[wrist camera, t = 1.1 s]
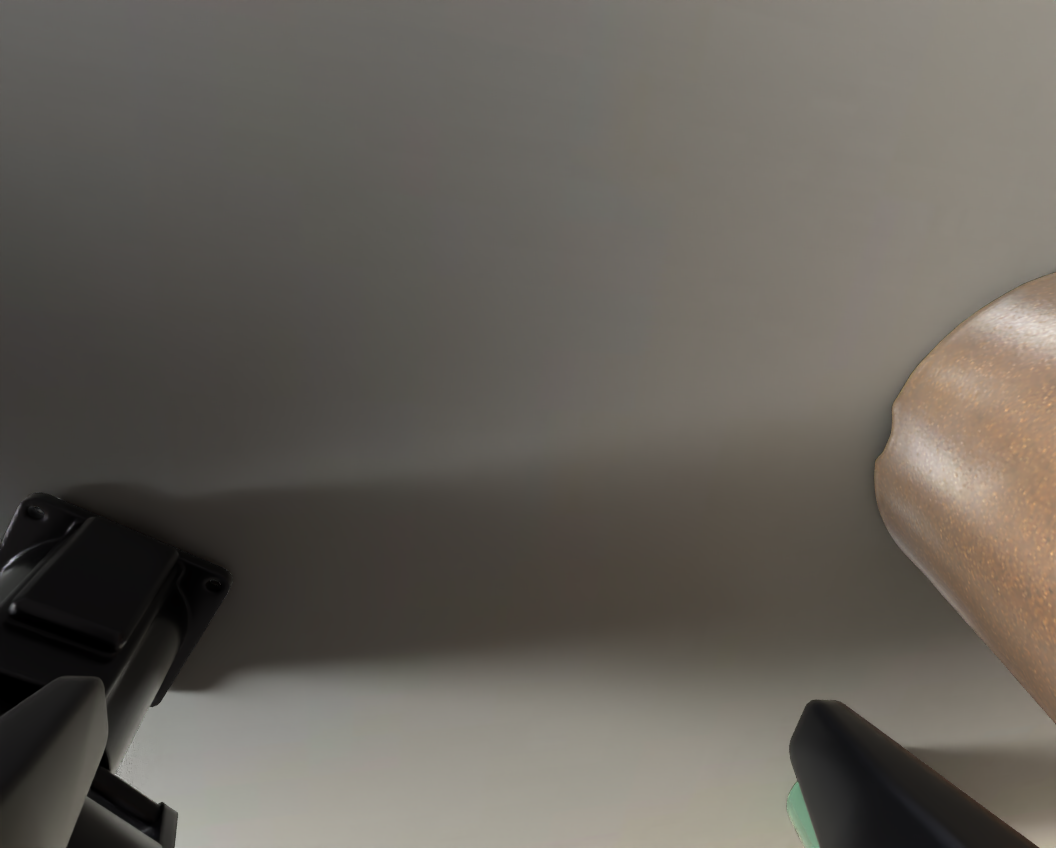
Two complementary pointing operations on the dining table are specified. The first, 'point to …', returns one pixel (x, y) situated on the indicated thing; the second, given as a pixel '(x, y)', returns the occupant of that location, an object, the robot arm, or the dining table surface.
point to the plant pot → (985, 478)
